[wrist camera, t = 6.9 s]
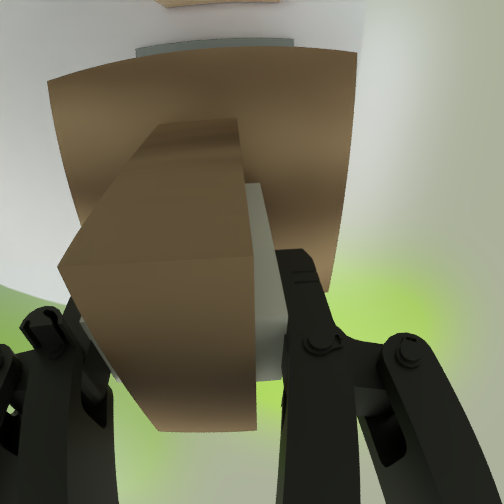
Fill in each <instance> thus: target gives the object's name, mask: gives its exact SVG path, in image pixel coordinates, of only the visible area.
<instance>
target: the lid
mask: <svg viewBox="0 0 504 504" xmlns="http://www.w3.org/2000/svg"><path fill="white" fill-rule="evenodd" d="M356 69H357V53H355V52H348V51H340V50H330V49H319V48H306V47H285V46H239V47H218V48H205V49H194V50H185V51H176V52H169V53H162V54H155V55H149V56H143V57H138V58H132V59H127V60H123V61H118V62H113V63H109V64H105V65H101V66H97V67H93V68H89V69H85V70H82V71H78V72H75V73H71V74H68V75H65V76H62V77H59V78H55V79H52V80H50V81H47V84H48V91H49V97H50V104H51V109H52V115H53V120H54V126H55V130H56V135H57V140H58V144H59V149H60V153H61V157H62V161H63V165H64V169H65V173H66V177H67V181H68V184H69V188H70V191H71V195H72V198H73V202H74V205H75V208H76V211H77V214H78V218H79V221H80V224H81V228H80V230H79V231H78V233H77V235H76V236H75V238H74V239H73V241H72V243H71V244H70V246H69V247H68V249H67V251H66V252H65V254H64V256H63V258H62V259H61V261H60V263H59V264H58V266H57V267H58V270H59V272H60V274H61V276H62V278H63V280H64V282H65V285H66V287H67V289H68V291H69V293H70V295H71V297H72V299H73V301H74V302H75V304H76V306H77V308H78V310H79V312H80V314H81V316H82V318H83V319H84V321H85V323H86V325H87V327H88V328H89V330H90V332H91V334H92V335H93V337H94V339H95V340H96V342H97V344H98V345H99V347H100V349H101V350H102V352H103V354H104V355H105V357H106V358H107V360H108V362H109V363H110V365H111V366H112V368H113V369H114V371H115V372H116V374H117V375H118V377H119V378H120V380H121V381H122V383H123V384H124V386H125V387H126V388H127V390H128V391H129V393H130V394H131V396H132V397H133V398H134V400H135V401H136V403H137V404H138V405H139V407H140V408H141V409H142V411H143V412H144V413H145V415H146V416H147V417H148V419H149V420H150V421H151V423H152V424H153V425H154V426H155V428H156V429H157V430H158V431H164V432H238V431H255V430H257V418H256V417H257V413H256V352H255V294H254V254H253V245H252V237H251V229H250V221H249V213H248V205H247V196H246V188H245V184H246V183H260V185H261V190H262V194H263V199H264V203H265V208H266V212H267V217H268V222H269V226H270V231H271V235H272V240H273V245H274V249H275V250H281V249H299V248H302V249H303V250H304V251H306V252H307V253H308V254H309V255H310V256H311V257H312V259H313V261H314V264H315V267H316V270H317V273H318V276H319V279H320V283H321V285H322V288H323V291H324V293H325V292H328V290H329V285H330V280H331V275H332V269H333V264H334V258H335V253H336V247H337V241H338V235H339V229H340V223H341V216H342V210H343V203H344V196H345V188H346V181H347V172H348V164H349V155H350V146H351V136H352V126H353V114H354V101H355V87H356Z"/></svg>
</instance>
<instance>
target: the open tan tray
mask: <svg viewBox="0 0 504 504" xmlns="http://www.w3.org/2000/svg"><path fill="white" fill-rule="evenodd" d="M154 1H156V2H158V3H159V4H161V5H162V6H164V7H166V8H169V7H177V6H185V5H195V4H206V3H223V2H280V1H281V0H154Z"/></svg>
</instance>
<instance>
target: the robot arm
mask: <svg viewBox="0 0 504 504" xmlns="http://www.w3.org/2000/svg"><path fill="white" fill-rule="evenodd" d="M245 188H246V196H247V205H248V213H249V221H250V229H251V237H252V245H253V254H254V294H255V352H256V382H258V381H271V380H281V378H282V377H283V383H284V390H283V397H282V404H281V406H282V420H281V439H280V453H279V468H278V481H277V482H278V483H277V495H276V504H360V466H359V445H358V430H357V418H358V420H359V423H360V426H361V429H362V432H363V435H364V438H365V441H366V443H367V446H368V449H369V452H370V455H371V458H372V461H373V464H374V467H375V470H376V473H377V476H378V479H379V483H380V486H381V489H382V492H383V495H384V498H385V501H386V504H502V502H501V499H500V496H499V493H498V490H497V488H496V485H495V482H494V479H493V477H492V474H491V472H490V469H489V466H488V464H487V461H486V459H485V457H484V454H483V452H482V449H481V447H480V445H479V442H478V440H477V438H476V436H475V433H474V431H473V429H472V427H471V425H470V422H469V420H468V418H467V416H466V414H465V412H464V410H463V408H462V406H461V404H460V402H459V400H458V398H457V396H456V394H455V392H454V390H453V388H452V386H451V384H450V382H449V380H448V378H447V376H446V374H445V373H444V371H443V369H442V367H441V365H440V363H439V362H438V360H437V358H436V356H435V354H434V353H433V351H432V349H431V347H430V346H429V345H428V344H427V343H426V342H425V340H423V339H422V338H420V337H419V336H417V335H414V334H410V333H397V334H395V335H393V336H391V337H389V338H388V340H387V341H386V342H385V343H384V344H377V343H371V342H364V341H359V340H355V339H353V338H351V337H348V336H346V334H345V333H344V332H343V331H342V330H341V329H340V328H339V327H337V326H336V325H335V323H334V321H333V318H332V315H331V312H330V309H329V306H328V303H327V300H326V297H325V294H324V291H323V288H322V285H321V283H320V279H319V276H318V273H317V270H316V267H315V264H314V261H313V259H312V257H311V256H310V255H309V254H308V253H307V252H306V251H304V250H303V249H302V248H299V249H281V250H275V249H274V245H273V240H272V235H271V231H270V226H269V222H268V217H267V212H266V208H265V203H264V199H263V194H262V190H261V185H260V183H246V184H245ZM19 328H20V330H21V331H22V332H23V334H24V335H25V337H26V338H27V339H28V341H29V342H30V344H31V345H32V346H33V348H34V350H30V351H26V352H22V353H18V354H15V353H14V352H13V351H12V350H11V348H10V347H9V346H7V345H5V344H0V504H119V501H118V492H117V481H116V469H115V453H114V424H113V423H114V422H113V392H112V389H111V388H110V387H109V385H108V382H109V377H110V373H111V374H112V375H113V377H114V378H115V379H116V381H117V382H122V381H121V380H120V378H119V377H118V375H117V374H116V372H115V371H114V369H113V368H112V366H111V365H110V363H109V362H108V360H107V358H106V357H105V355H104V354H103V352H102V350H101V349H100V347H99V345H98V344H97V342H96V340H95V339H94V337H93V335H92V334H91V332H90V330H89V328H88V327H87V325H86V323H85V321H84V319H83V318H82V316H81V314H80V312H79V310H78V308H77V306H76V304H75V302H74V301H73V299H72V297H70V299H69V301H68V304H67V306H66V308H65V310H64V313H63V315H62V314H61V312H60V310H59V309H57V308H55V307H53V306H44V307H41V308H37V309H36V310H34V311H32V312H31V313H29V314H28V316H27V317H26V318H25V319H24V320H23V322H22V324H21V325H20V327H19ZM9 404H10V405H11V406H12V407H13V408H14V409H15V411H14V412H13V413H12V414H9V413H8V412H7V408H8V406H9ZM356 415H357V416H356Z"/></svg>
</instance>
